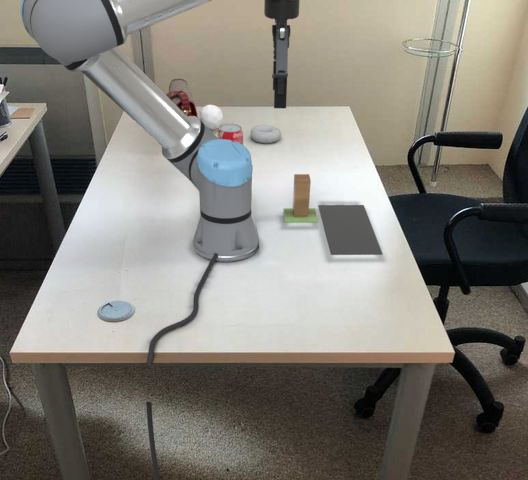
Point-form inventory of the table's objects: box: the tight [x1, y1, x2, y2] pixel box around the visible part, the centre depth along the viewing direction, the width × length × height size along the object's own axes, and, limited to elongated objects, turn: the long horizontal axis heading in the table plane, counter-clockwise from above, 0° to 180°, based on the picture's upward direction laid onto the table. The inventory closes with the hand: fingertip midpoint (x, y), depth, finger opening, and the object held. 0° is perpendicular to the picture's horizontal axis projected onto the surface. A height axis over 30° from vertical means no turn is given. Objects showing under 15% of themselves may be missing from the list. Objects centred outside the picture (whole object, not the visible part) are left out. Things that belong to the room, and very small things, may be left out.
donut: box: [249, 124, 282, 144], centre depth 208 cm, size 10×4×10 cm
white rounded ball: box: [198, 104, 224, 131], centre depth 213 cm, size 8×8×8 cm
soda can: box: [217, 123, 244, 145], centre depth 183 cm, size 7×7×13 cm
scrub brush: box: [282, 173, 319, 224], centre depth 159 cm, size 6×8×12 cm
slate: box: [317, 204, 384, 256], centre depth 158 cm, size 26×12×2 cm, turn 3°
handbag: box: [165, 78, 199, 118], centre depth 202 cm, size 28×11×17 cm, turn 11°
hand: (279, 98), depth 151 cm, fingers open, 13 cm apart
